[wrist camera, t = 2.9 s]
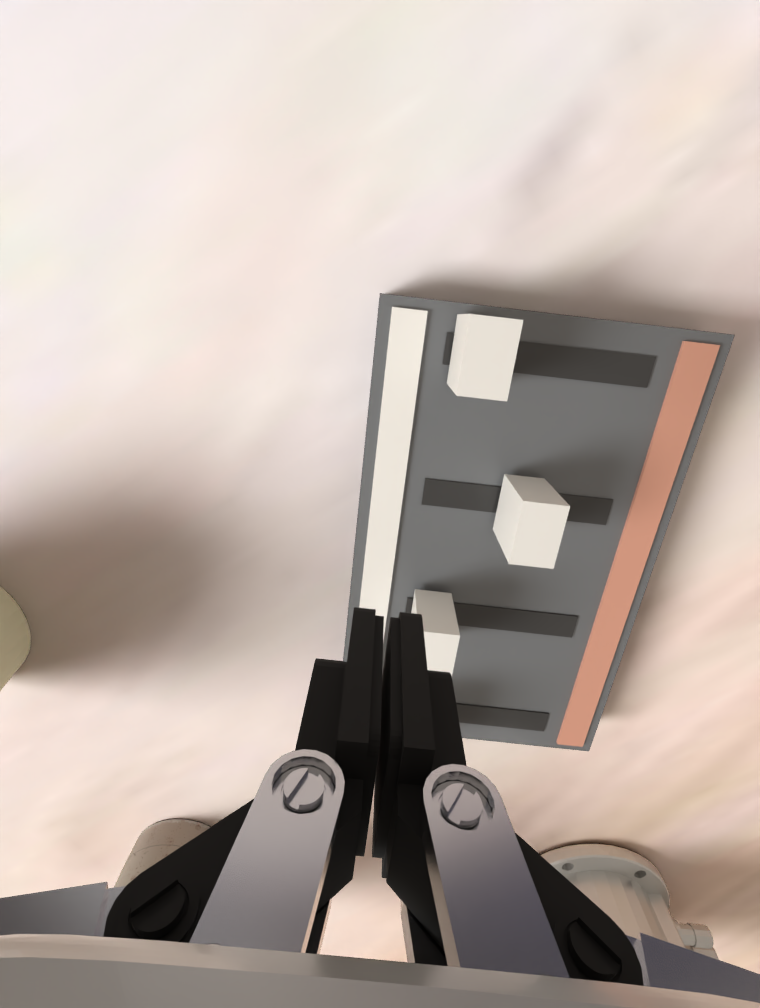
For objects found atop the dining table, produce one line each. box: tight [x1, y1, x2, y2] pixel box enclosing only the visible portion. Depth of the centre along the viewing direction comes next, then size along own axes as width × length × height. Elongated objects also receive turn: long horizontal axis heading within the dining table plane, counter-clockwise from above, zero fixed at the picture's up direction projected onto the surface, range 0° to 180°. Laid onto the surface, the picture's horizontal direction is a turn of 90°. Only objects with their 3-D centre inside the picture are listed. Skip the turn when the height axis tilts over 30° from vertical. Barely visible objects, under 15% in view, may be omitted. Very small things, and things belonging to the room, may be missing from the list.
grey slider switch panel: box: [343, 293, 734, 751], centre depth 25 cm, size 16×25×7 cm, turn 174°
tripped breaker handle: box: [493, 474, 570, 569], centre depth 23 cm, size 2×3×4 cm, turn 174°
